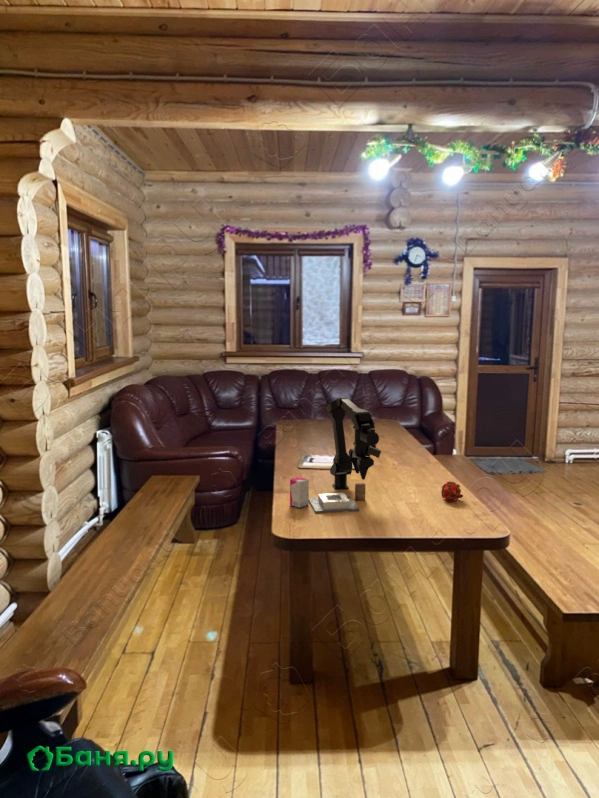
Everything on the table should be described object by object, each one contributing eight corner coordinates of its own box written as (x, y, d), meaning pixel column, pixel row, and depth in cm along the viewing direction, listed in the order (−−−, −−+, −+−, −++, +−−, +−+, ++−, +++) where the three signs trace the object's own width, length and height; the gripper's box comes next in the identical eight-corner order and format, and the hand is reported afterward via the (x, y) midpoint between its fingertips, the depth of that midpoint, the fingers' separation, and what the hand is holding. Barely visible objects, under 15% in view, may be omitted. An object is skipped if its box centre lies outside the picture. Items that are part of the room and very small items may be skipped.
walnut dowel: (353, 498, 242) (353, 483, 241) (363, 498, 242) (363, 482, 241) (356, 502, 237) (356, 486, 236) (366, 501, 238) (366, 485, 237)
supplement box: (309, 505, 232) (309, 479, 231) (298, 509, 228) (299, 482, 227) (299, 502, 237) (299, 476, 235) (289, 505, 232) (289, 479, 231)
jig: (308, 500, 239) (308, 491, 238) (349, 498, 242) (349, 489, 241) (315, 513, 223) (315, 503, 223) (359, 510, 226) (359, 501, 226)
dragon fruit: (449, 498, 247) (454, 511, 235) (434, 487, 246) (438, 500, 235) (462, 484, 244) (468, 497, 233) (447, 473, 244) (452, 485, 232)
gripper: (386, 445, 228) (385, 482, 231) (373, 435, 246) (372, 469, 249) (360, 446, 226) (359, 483, 229) (348, 436, 245) (347, 470, 247)
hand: (360, 476), depth 238 cm, fingers open, 9 cm apart
